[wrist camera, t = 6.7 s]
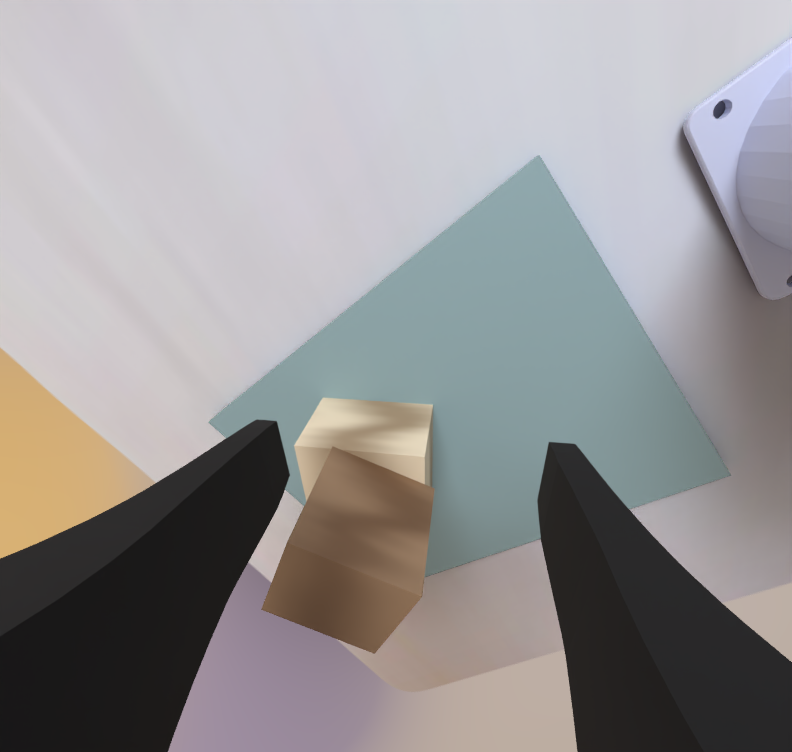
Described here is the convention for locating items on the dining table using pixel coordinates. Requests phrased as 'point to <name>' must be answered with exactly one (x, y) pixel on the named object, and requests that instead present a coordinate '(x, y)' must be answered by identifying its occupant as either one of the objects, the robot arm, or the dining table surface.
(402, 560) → the walnut cube
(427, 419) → the maple block
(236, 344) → the dining table surface
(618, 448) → the mat
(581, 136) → the dining table surface
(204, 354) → the dining table surface
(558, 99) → the dining table surface
